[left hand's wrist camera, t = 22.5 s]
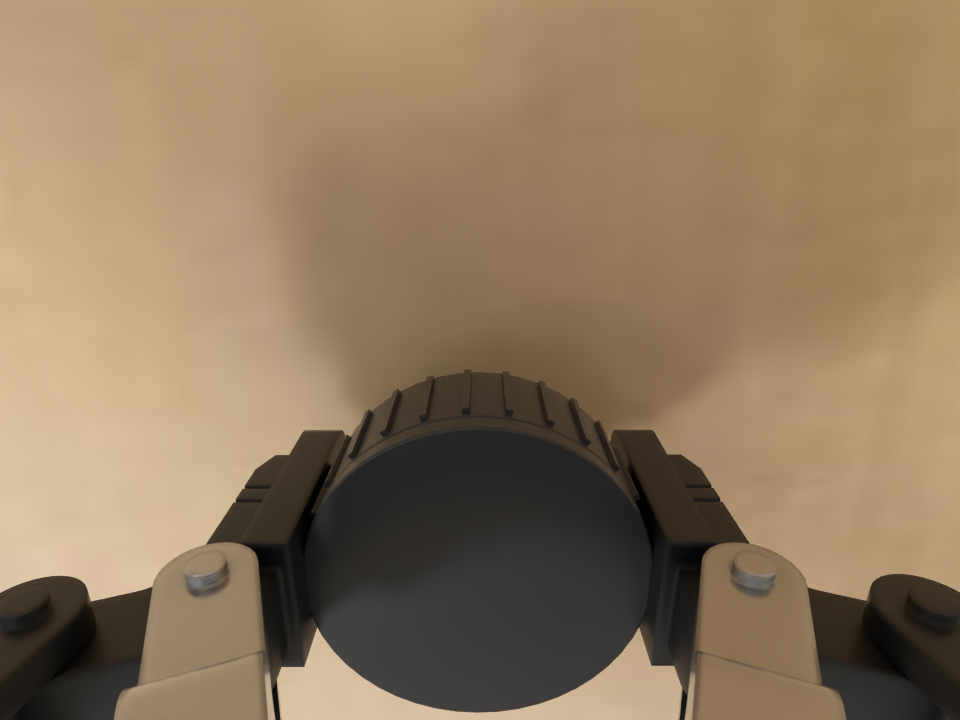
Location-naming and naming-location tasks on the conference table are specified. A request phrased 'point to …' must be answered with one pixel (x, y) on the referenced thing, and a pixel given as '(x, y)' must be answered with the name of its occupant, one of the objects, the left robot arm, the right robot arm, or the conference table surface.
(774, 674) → the left robot arm
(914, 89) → the conference table surface
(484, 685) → the lid
